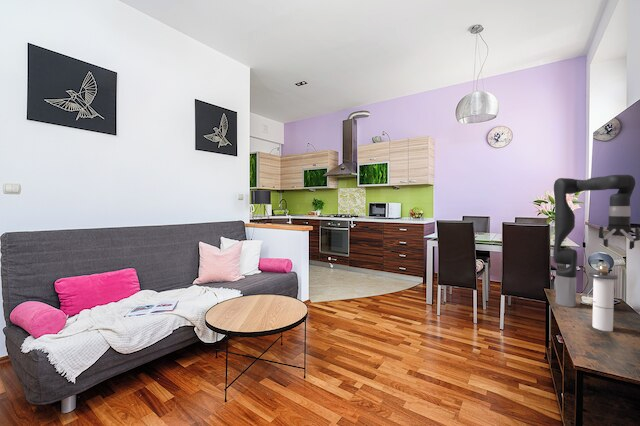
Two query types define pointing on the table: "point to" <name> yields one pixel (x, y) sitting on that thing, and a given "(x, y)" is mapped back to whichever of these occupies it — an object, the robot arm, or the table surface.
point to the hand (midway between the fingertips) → (618, 247)
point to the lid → (603, 273)
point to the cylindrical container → (603, 304)
